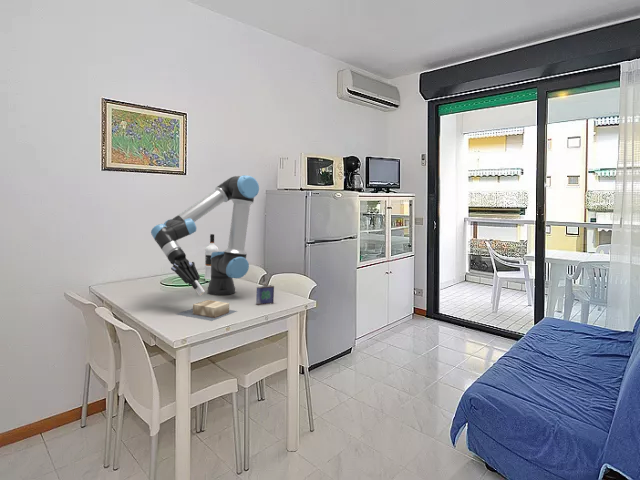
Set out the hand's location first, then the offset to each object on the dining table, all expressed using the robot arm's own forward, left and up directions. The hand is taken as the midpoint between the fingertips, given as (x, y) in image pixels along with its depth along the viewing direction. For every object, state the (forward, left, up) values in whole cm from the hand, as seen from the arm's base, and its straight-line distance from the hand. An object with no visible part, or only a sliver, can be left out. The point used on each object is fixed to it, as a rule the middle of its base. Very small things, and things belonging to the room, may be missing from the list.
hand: (202, 293), depth 176 cm
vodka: (-45, +61, -9) cm, 76 cm away
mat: (+2, +1, -9) cm, 9 cm away
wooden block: (-1, +1, -6) cm, 6 cm away
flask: (+14, +30, -9) cm, 34 cm away
